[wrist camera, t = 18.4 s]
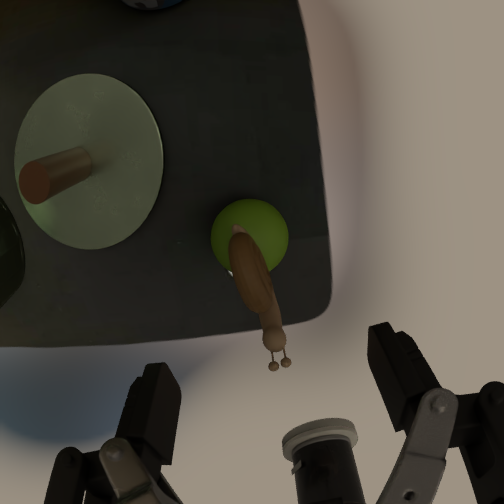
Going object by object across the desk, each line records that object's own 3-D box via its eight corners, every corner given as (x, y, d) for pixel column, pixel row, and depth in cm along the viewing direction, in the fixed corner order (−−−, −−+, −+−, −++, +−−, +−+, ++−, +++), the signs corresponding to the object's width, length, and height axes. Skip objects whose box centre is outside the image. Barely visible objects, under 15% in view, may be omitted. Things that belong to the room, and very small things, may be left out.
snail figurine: (235, 274, 26) (233, 385, 15) (202, 206, 23) (169, 291, 12) (296, 251, 25) (333, 354, 14) (268, 180, 22) (294, 245, 12)
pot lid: (188, 222, 24) (169, 264, 17) (52, 258, 25) (12, 298, 18) (143, 46, 17) (104, 23, 11) (7, 118, 18) (-46, 128, 12)
